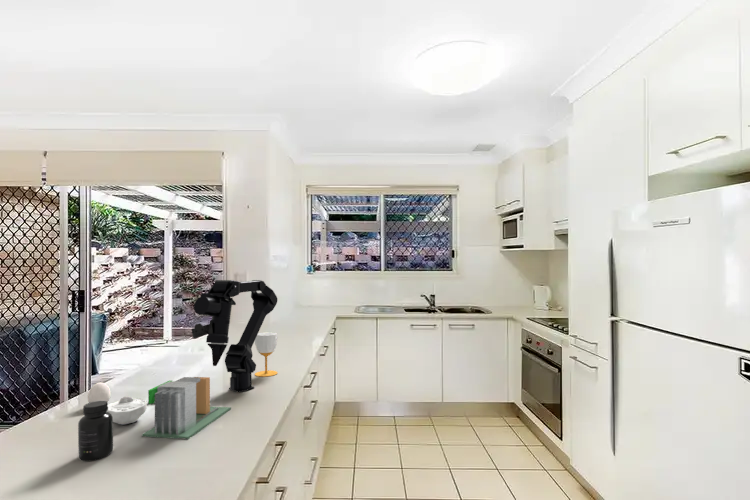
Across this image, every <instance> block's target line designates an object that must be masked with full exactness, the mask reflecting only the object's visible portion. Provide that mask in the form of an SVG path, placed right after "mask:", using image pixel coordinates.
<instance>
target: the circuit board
mask: <svg viewBox="0 0 750 500" xmlns="http://www.w3.org/2000/svg"><path fill="white" fill-rule="evenodd" d="M216 407H218V410H216V411H215V412H213V413H212V414H210V415H209V416H207V417H206V418H204V419H203V420H201V421H200V422H198V423H197V424H196V425H195V426H194V427H192V428H191V429H189V430H188V431H186V432H182V433H181V434H179V435H176V432H175V433H173V434H172V435H169V432H167V433H165V434H162V431H161V432H159V433H158V434H155V426H154V427H152V428H151V429H149V430H146V431H145V432H143V433H142V435H141V436H146V437H145V438H160V437H163V439H177V438H185V439H184V440H189V439H190V437H191V438H193V436H195V435H197V434H198V433H199V432H201V431H202V430H204V429H205V428H206V427H208V426H209V425H211V424H212V423H214V422H216V420H218V419H219V418H221V417H222V416H224V415H225V414H226V413H228V412H229V411H231V409H232V407H230V406H211V405H210V411H212V410H213V409H215V408H216ZM208 413H209V412H208ZM204 415H206V414H197V413H196V420H198V419H199V418H201V417H202V416H204ZM197 432H198V433H197ZM186 438H187V439H186Z"/></svg>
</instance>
